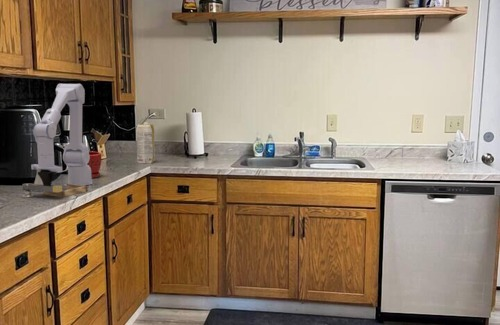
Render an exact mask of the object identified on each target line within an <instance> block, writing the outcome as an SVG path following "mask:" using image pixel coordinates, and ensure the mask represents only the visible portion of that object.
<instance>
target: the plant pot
mask: <svg viewBox="0 0 500 325" xmlns="http://www.w3.org/2000/svg"><path fill="white" fill-rule="evenodd" d="M88 151H89V150H88ZM89 155H90V159H89V162H88V164H87V165H89V166H90V168H91V179H94V178H98V177H99V176H100V175H101V173H100V169H101V166H102V153H101V152H100V151H89Z"/></svg>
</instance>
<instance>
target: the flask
mask: <svg viewBox="0 0 500 325" xmlns="http://www.w3.org/2000/svg"><path fill="white" fill-rule="evenodd" d="M40 171H41V170H36V176H35V180H34V182H33V184H40V185H43V182H42V180H41V178H40V176H39V175H38V172H40ZM32 191H33V192H34V191H35V192H37V191H36V190H31V192H32Z"/></svg>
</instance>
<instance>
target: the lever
mask: <svg viewBox="0 0 500 325" xmlns="http://www.w3.org/2000/svg"><path fill="white" fill-rule="evenodd" d="M21 186H22V190H23V191H24V190H31V191H32V190H36V191H35V192H43V191H50V192H61V191H63V185H53V184H51V185H40V184H34V183H30V182H29V183H22V185H21Z"/></svg>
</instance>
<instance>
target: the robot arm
mask: <svg viewBox="0 0 500 325" xmlns="http://www.w3.org/2000/svg"><path fill="white" fill-rule="evenodd" d="M85 91H86V90H85V88H84V86H83V84H81V83H60V82H59V83H58V84H57V85H56V88H55V95H56V96H55V98H54V101H53V103H52V105H51V108H48V109H46V111H45V113H44V115H43V117H42V118H41V120H40V122H39V123H37V124H35V125H34V126H33V131H32V134H33V137H34V139H35V143H36V144H37V145H36V147H37V163H38V164H37V163H34V164H31V165H30V166H31V167H30V168H31V170H33V171H34V170H36V171H37V170H41V171H40V172H38V175H39V176H40V178H41V180H42V182H43V185H52V183H53V179H54V177H55V175H56V173H63V166H59V165H55V152H54V151H55V150H54V146H55V145H54V138H55V137H56V136H57V128H58V127H57V126H58V124H59V122H60V120H61V118H62V115H61V112H62V110H63V109H64V107H65V106H66V104H67V105H68V108H69V143H68V144H66V145H65V146H64V148H63V149H64V150H63V154H62V160H63V162H64V164H65V165H66V167H67V172H68V173H67V177H68V179H67V180H68V183H65V184H63V186H64V187H67V184H74V185H83V186H89V185H93V184H94V182H92V181H93V180H92V178H91V168H90V166H89V165H87V164H88V162H89V159H90V155H89V147H88V146H87V145H85V144H84V143H83V104H85V97H86V96H85V95H86V93H85Z"/></svg>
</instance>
